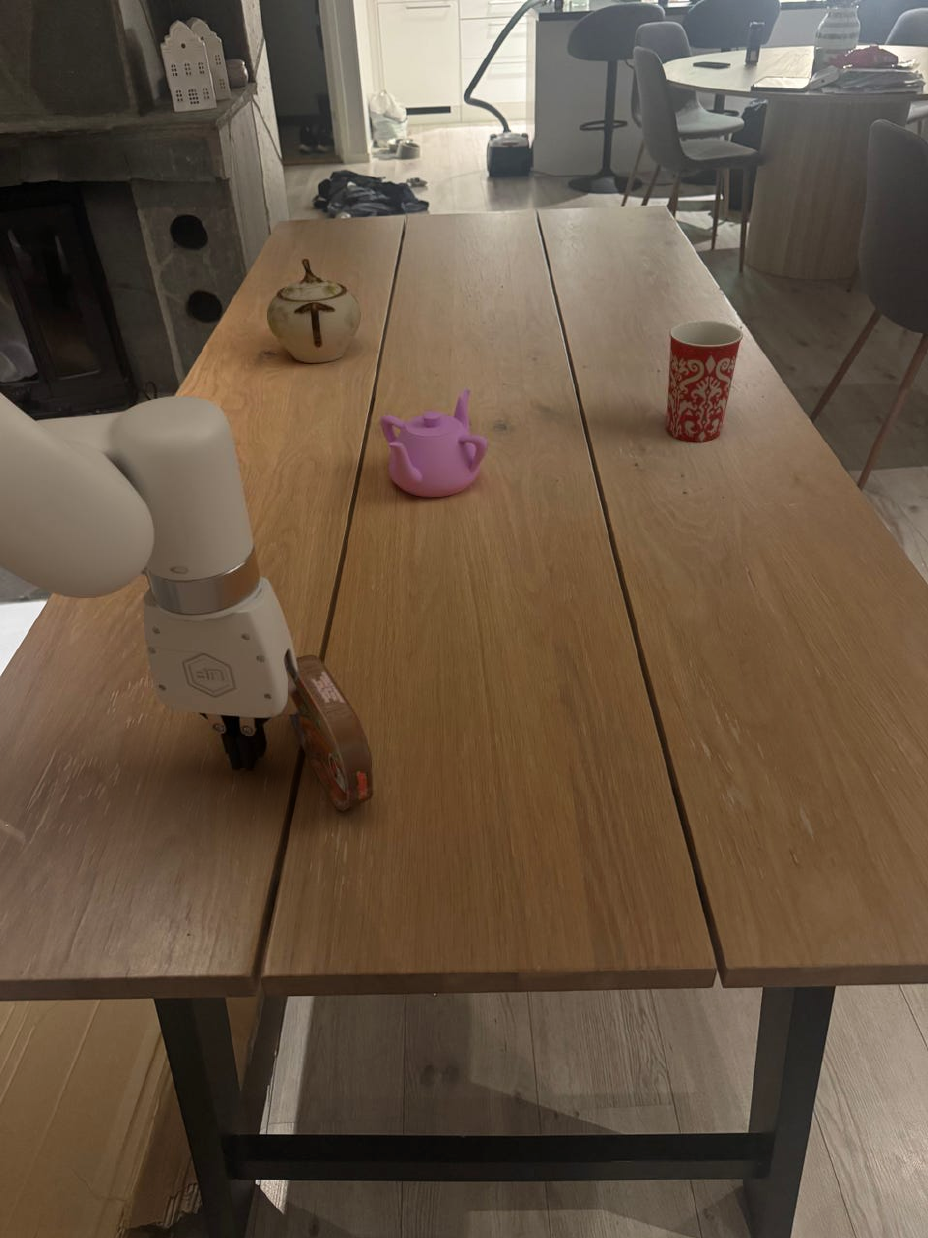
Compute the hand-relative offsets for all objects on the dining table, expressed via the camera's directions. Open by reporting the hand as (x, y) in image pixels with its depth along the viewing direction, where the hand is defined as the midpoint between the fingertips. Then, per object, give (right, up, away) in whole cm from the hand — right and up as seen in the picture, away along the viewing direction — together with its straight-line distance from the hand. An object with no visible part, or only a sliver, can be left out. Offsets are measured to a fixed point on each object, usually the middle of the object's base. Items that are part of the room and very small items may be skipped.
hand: (248, 758), depth 76 cm
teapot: (+14, +29, +40) cm, 52 cm away
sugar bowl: (-6, +55, +76) cm, 94 cm away
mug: (+49, +38, +50) cm, 79 cm away
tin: (+7, -1, +1) cm, 7 cm away
